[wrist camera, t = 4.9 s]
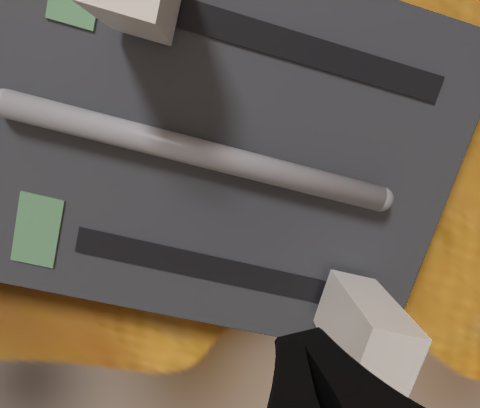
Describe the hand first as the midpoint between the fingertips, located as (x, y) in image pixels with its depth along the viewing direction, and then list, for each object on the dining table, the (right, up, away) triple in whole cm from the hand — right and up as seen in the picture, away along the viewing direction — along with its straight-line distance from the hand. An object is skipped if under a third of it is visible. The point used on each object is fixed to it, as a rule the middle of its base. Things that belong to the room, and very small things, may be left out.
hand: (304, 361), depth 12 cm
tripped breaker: (+3, 0, +5) cm, 6 cm away
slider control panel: (-3, +7, +6) cm, 10 cm away
